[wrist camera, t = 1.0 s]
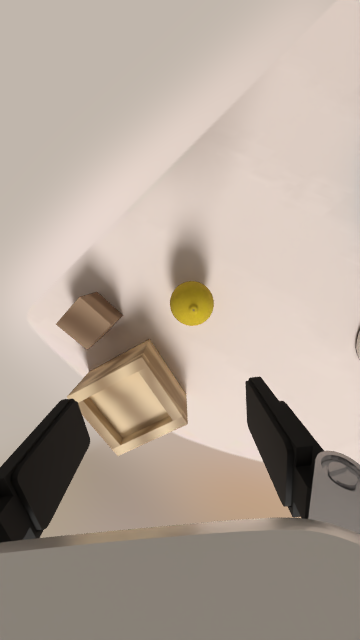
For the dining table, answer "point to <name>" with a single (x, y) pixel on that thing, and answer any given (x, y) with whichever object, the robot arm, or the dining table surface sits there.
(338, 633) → the robot arm
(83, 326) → the walnut cube
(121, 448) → the oak tray
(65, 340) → the dining table surface
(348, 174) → the dining table surface
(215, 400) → the dining table surface
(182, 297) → the lemon
